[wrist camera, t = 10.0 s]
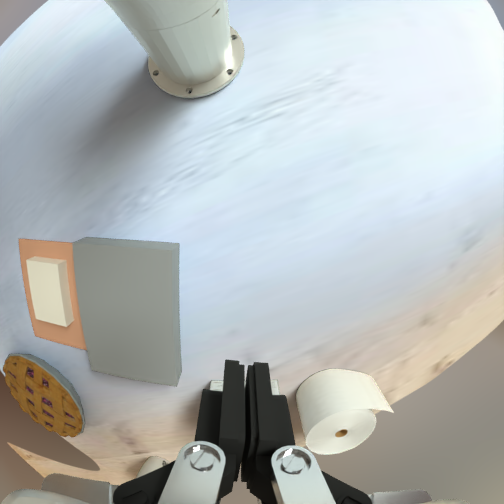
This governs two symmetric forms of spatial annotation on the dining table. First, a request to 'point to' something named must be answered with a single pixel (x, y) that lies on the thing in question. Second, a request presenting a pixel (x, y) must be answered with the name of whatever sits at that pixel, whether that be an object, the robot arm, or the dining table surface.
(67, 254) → the mat
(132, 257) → the grey flat slab
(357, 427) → the toilet tissue
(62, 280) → the cream rectangular block
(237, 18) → the dining table surface
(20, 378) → the pie
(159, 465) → the cup
